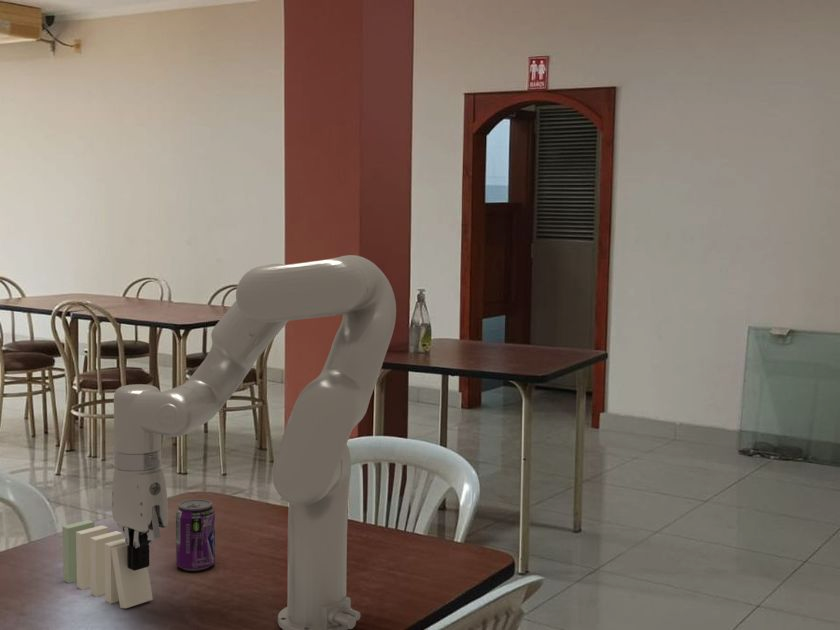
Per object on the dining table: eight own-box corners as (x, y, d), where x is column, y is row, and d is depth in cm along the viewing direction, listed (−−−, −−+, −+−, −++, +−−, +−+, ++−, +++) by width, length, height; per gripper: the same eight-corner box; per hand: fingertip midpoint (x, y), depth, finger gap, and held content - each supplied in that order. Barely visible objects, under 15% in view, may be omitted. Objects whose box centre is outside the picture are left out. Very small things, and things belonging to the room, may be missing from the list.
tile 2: (137, 595, 177) (137, 539, 176) (111, 603, 173) (110, 546, 172) (131, 592, 178) (131, 536, 177) (105, 600, 174) (104, 543, 173)
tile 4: (108, 582, 183) (108, 527, 182) (82, 589, 179) (81, 534, 178) (103, 579, 184) (102, 525, 183) (76, 587, 180) (75, 531, 179)
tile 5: (95, 575, 186) (94, 522, 184) (68, 583, 182) (67, 528, 181) (89, 573, 187) (88, 519, 186) (63, 580, 183) (62, 526, 182)
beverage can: (205, 574, 187) (205, 510, 186) (169, 571, 188) (169, 507, 187) (221, 561, 194) (220, 499, 193) (186, 558, 195) (185, 497, 194)
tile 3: (123, 588, 180) (122, 533, 179) (96, 596, 176) (95, 540, 175) (117, 585, 181) (116, 530, 180) (90, 594, 177) (89, 537, 176)
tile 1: (152, 599, 174) (143, 540, 174) (126, 608, 170) (116, 548, 171) (146, 599, 175) (137, 541, 176) (120, 608, 171) (110, 548, 172)
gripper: (184, 464, 167) (184, 573, 169) (131, 448, 177) (132, 551, 179) (144, 472, 161) (145, 585, 163) (92, 455, 171) (93, 562, 173)
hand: (138, 567), depth 171 cm, fingers closed
